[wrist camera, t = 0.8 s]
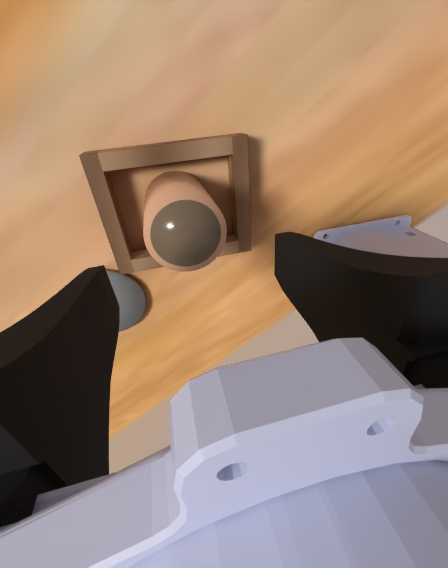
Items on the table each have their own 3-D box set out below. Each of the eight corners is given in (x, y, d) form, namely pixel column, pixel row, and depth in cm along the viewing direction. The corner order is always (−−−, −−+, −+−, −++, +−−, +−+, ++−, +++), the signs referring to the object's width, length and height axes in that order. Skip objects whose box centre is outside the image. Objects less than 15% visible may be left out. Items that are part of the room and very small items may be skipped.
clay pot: (203, 166, 19) (223, 186, 14) (210, 228, 21) (230, 263, 16) (137, 175, 18) (132, 200, 13) (152, 237, 21) (154, 278, 16)
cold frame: (240, 133, 18) (247, 134, 17) (245, 242, 23) (251, 250, 21) (84, 152, 17) (79, 155, 16) (122, 265, 21) (120, 274, 20)
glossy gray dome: (135, 262, 21) (135, 265, 21) (152, 320, 25) (152, 324, 24) (53, 277, 20) (51, 281, 20) (83, 335, 24) (82, 339, 23)
